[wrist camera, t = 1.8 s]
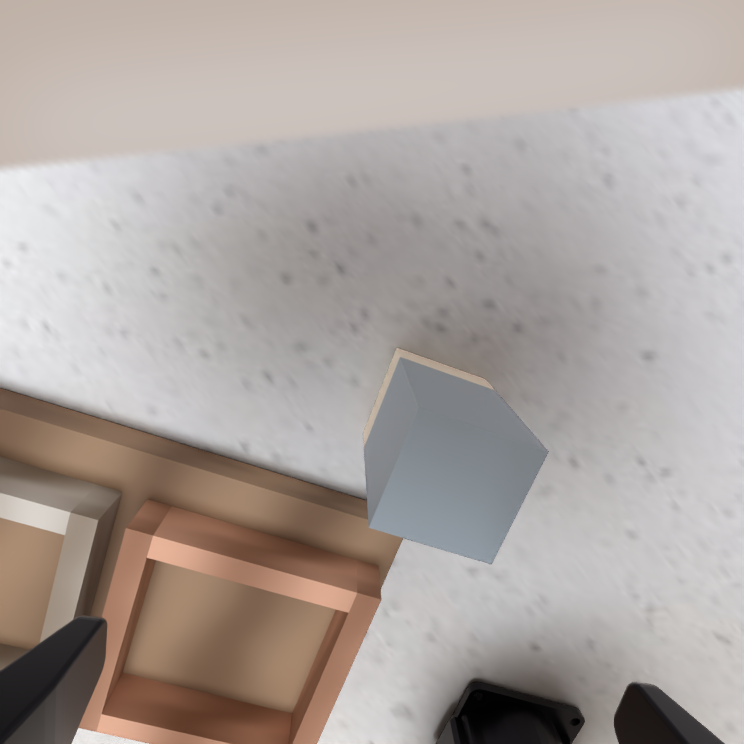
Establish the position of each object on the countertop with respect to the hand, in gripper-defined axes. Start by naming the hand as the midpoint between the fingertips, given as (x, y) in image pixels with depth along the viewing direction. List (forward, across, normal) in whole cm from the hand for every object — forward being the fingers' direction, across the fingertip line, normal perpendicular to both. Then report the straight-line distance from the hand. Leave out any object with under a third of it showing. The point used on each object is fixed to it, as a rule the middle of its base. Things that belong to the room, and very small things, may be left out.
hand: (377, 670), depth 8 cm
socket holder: (+13, +9, +10) cm, 19 cm away
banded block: (+13, -3, 0) cm, 13 cm away
